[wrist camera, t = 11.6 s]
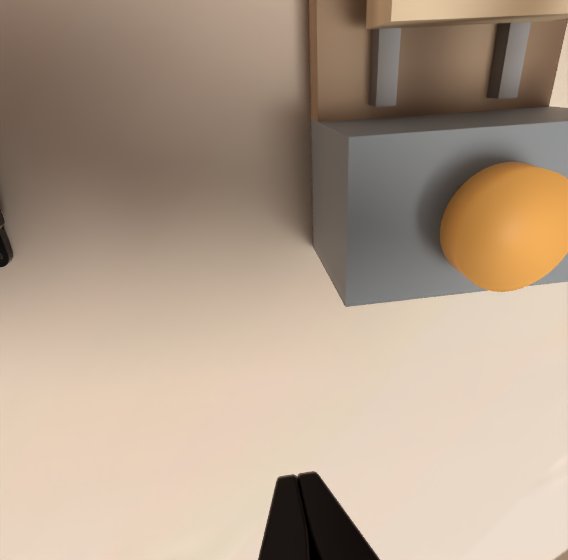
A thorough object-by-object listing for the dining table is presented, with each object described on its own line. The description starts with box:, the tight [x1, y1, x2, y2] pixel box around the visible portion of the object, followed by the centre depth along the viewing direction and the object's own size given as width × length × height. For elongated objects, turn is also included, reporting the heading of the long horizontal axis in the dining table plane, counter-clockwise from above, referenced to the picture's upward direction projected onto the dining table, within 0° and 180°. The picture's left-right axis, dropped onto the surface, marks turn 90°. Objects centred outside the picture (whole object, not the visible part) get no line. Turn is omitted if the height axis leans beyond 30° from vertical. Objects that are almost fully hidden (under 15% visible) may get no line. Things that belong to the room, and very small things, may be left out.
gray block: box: [311, 106, 568, 307], centre depth 17 cm, size 10×6×6 cm, turn 93°
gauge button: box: [440, 162, 568, 292], centre depth 15 cm, size 4×4×4 cm
